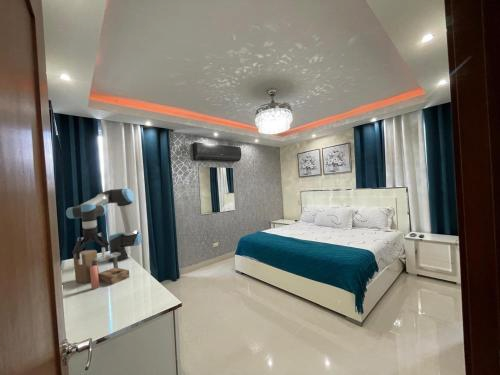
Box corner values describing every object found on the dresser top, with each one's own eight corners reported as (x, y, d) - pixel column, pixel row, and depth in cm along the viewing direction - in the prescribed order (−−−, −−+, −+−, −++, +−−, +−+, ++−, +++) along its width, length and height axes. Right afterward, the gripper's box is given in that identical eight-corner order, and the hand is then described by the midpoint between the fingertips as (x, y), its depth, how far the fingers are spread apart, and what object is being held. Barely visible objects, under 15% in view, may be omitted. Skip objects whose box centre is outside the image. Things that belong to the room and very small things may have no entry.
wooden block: (87, 283, 151) (84, 254, 150) (75, 282, 153) (72, 254, 152) (99, 276, 160) (97, 249, 160) (88, 276, 162) (85, 249, 162)
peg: (97, 286, 145) (95, 265, 144) (100, 287, 143) (98, 265, 142) (90, 288, 141) (88, 267, 141) (93, 290, 139) (91, 268, 139)
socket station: (116, 272, 167) (115, 252, 166) (132, 276, 157) (130, 254, 157) (93, 281, 153) (91, 259, 152) (108, 286, 143) (106, 262, 143)
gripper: (107, 223, 154) (109, 253, 154) (63, 231, 132) (66, 266, 132) (113, 223, 150) (115, 254, 150) (69, 232, 128) (72, 268, 129)
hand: (92, 260), depth 141 cm, fingers open, 13 cm apart
